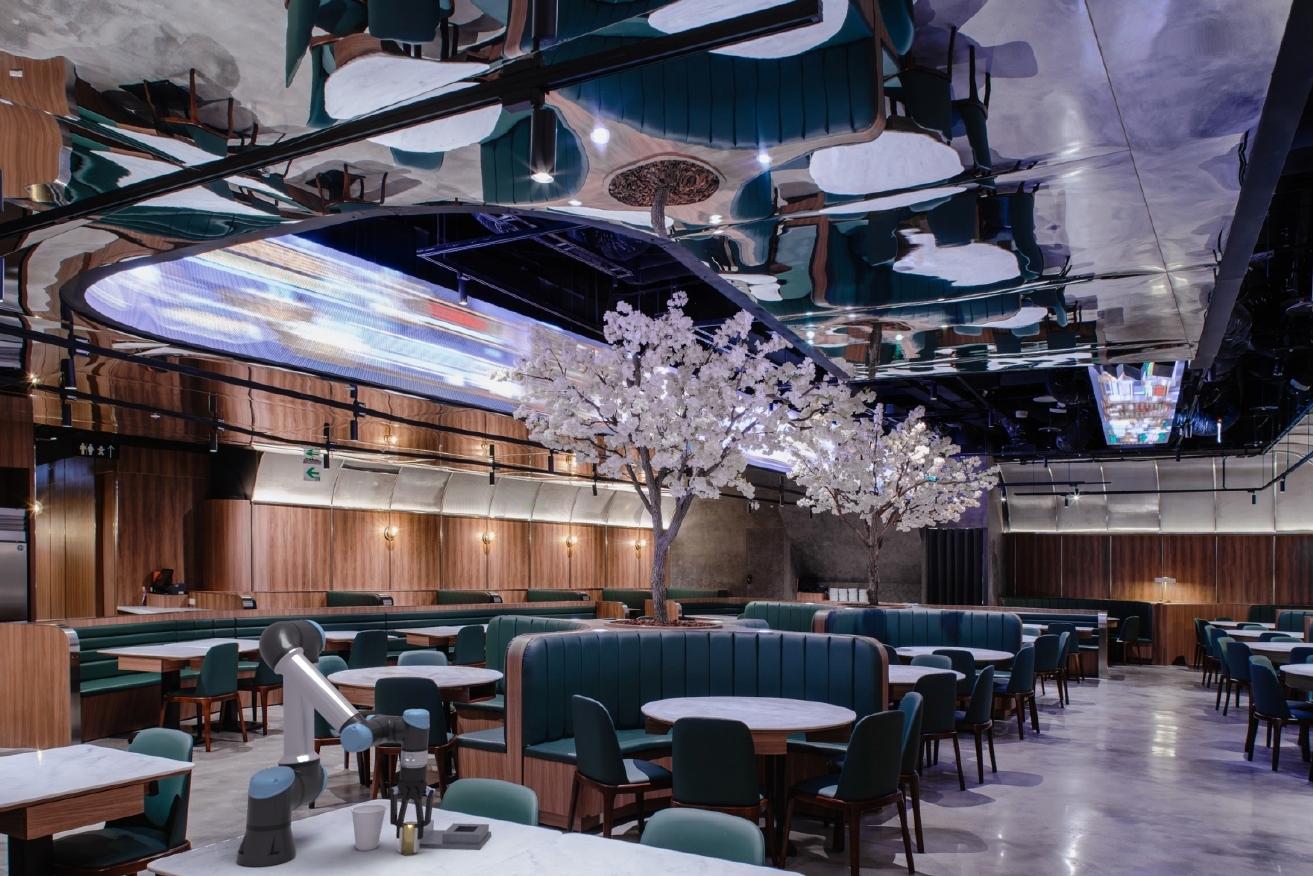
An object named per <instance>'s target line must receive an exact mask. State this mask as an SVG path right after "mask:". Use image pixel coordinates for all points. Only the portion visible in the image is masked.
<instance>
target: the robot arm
mask: <svg viewBox="0 0 1313 876" xmlns="http://www.w3.org/2000/svg"><path fill="white" fill-rule="evenodd" d="M326 639H327V638H326V633H325V631H324V629H323V627H321V625H320V624H319V623H317V622H316V621H314V620H310V619H295V620H288V621H276V622H274V623H271V624H270V625H269V626H267V627H266V628H265V629H264V630H263V631H262V632H261V635H260V637H259V640H258V649H259V653H260V656H261V657H262V659H263V661H264V662H265V664H266V665H267V666H268V667H269V668H270V669H271V671H273V673H275V675H282V676H283V677H282V678H283V683H282V688H283V689H282V690H283V691H282V692H283V693H282V694H283V695H282V697H283V701H282V702H283V704H282V705H283V756H282V757H281V758H280V759H279V760H278V761H277V763H278V764H277V765H278V766H272V767H270V768H268V767H267V768H264V769H261V770H259V771H257V772H255V773H254V774H252V776H251V777H250V779H249V786H248V788H247V793H248V797H247V811H246V822H245V823H246V824H245V825H246V826H245V832H244V835H243V837H242V841H241V843H240V846H239V848H238V850H237V855H236V863H237V864H238V865H241V866H243V867H268V866H274V865H279V864H280V865H281V864H284V863H286V862H289V861H291V860H293V859H294V858H295V857H296V852H297V846H296V841H295V838H294V834H293V831H292V814H293V813H292V812H293V811H295V810H297V809H299V808H300V809H301V808H302V807H306V806H308V805H310V804H312V803H314V802H315V801H316V800H317V799H319V798H320V797H321V796H322V795H323V793H324V792H325V790H326V789H327V785H328V782H329V781H328V778H329V777H328V772H327V769H326V768H325V766H324V765H323V764H322V762H321V755H319V754H318V753H317V752H316V751H315V710H316V711H317V712H318V714H320V716H322V718H324V719H325V721H326V722H327V723H329V725H331V727H332V728H333V729H334V730H335V731H336V732H337V733H338V734H339V735H340V739H339V740H340V745H341V747H342V749H343V750H344V751H346V752H348V753H351V754H352V753H358V752H363V751H366V750H367V749H370V748H373V747H377V746H379V745H381V744H385V743H386V744H387V743H388V744H389V743H393V744H401V749H400V750H401V752H400V765H401V766H400V767H399V781H398V783H397V785H396V786H392V787H390V788H389V789H388V793H389V796H390V797H389V798H390V801H389V802H390V804H389V806H390V807H389V808H390V809H389V810H390V812H389V813H390V815H389V816H390V817H389V818H390V819H389V821H390V823H389V824H391V825H393V826H395V827H396V834H395V836H396V839H398V853H401V848H402V829H403V828H402V824H403V823H405V821H404V820H405V817H406V813H407V809H408V804H409V801H410V800H413V803H414V807H415V814H416V822H417V825H418V826H417V828H415V836H414V852H415V853H416V852H417V853H418V851H419V850H420V848H419V845H420V839H422V838H423V832H424V826H427V825H428V824H429V823H430V822H431V820H432V814H433V813H432V812H433V805H434V804H433V803H434V796H435V794H436V792H437V789H436V788H435V787H433V788H431V786H429V785H428V782H427V777H428V776H427V773H428V772H427V771H428V766H427V764H428V756H429V755H428V754H429V752H428V751H429V733H430V726H431V725H430V711H428V710H426V709H423V708H417V709H416V708H411V709H406V710H404V712H403V715H401V716H400V715H399V716H398V715H385V714H381V713H379V714H369V715H367V716H366V717H364V716H363V715H362V714H361V712H359V711H358V710H357V709H356V708H355V707H354V706H353V704H352V703H351V702H350V701H349V700H348V699H347V698H345V696H344V695H343V694H342V693H341V692H340V691H339V690H338V689H337V688H336V687H335V686H334V685H333V684H332V682H331V681H329V680H328V679H327V678H326V677H325V675H324V674H323V673H322V672H321V671H320V670H318V668H317V666H319V663H320V661H319V660H320V654H322V651H323V650H324V649H325V647H326V642H327V641H326ZM399 792H400V794H401V796H402V797H401V801H400V803H401V804H400V808H399V812H398V793H399ZM425 792H426V794H425V795H426V796H427V797H426V802H425V811H424V808H423V794H424V793H425ZM417 853H416V854H417Z"/></svg>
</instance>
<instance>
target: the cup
mask: <svg viewBox="0 0 1313 876" xmlns="http://www.w3.org/2000/svg"><path fill="white" fill-rule="evenodd" d="M387 808H388V807H387V806H386V805H384V804H380V803H379V804H377V803H367V804H360V805H356V806H354V807H351V813H352V823H353V830H354V831H353V832H354V842H355V848H356V850H358V851H361V852H364V851H371V850H375V849H377V848H378V846H379V844H380V838H381V832H382V828H383V823H384V818H385V814H386V810H387Z"/></svg>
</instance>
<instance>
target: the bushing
mask: <svg viewBox="0 0 1313 876" xmlns="http://www.w3.org/2000/svg"><path fill="white" fill-rule="evenodd" d="M417 826H418V825H417V821H413V820H412V821H411V820H410V821H404V822H403V824H402V828H403V829H402V848H401V852H400V855H401V856H414V855H417V853H418V851H417V852H416V853H415V852H414V836H415V828H417Z"/></svg>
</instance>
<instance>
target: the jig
mask: <svg viewBox="0 0 1313 876" xmlns="http://www.w3.org/2000/svg"><path fill="white" fill-rule="evenodd" d="M434 823H435V819H431V822H430V823H429V824H428V825H427V826H424V832H423V838H422V839H420V845H419V849H433V850H434V849H435V848H436V849H441V850H443V849H444V850H471V851H472V850H479V851H480V850H481V849H482V847H483V846H484V845H485V844H486V842H487V841H488V840H489V839H490V838H491V837H492V831H490V830H489V829H490V827H489V826H490V824H488V823H452V824H450V826H449V827H448V828H447V829H446V830H445V829H444V830H442V829H441V830H440V829H434V827H435V826H434V825H435V824H434Z"/></svg>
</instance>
